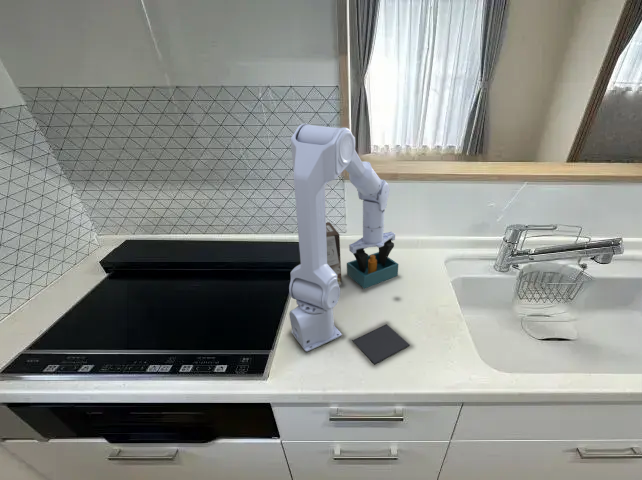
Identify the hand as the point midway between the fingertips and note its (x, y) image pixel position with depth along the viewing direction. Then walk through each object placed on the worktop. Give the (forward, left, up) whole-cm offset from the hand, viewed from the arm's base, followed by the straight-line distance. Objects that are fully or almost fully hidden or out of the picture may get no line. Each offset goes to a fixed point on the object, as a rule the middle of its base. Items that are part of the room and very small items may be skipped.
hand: (372, 267), depth 95 cm
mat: (-15, -24, -3) cm, 28 cm away
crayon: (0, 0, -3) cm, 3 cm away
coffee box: (-12, +6, -3) cm, 14 cm away
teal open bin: (0, 0, -3) cm, 3 cm away
